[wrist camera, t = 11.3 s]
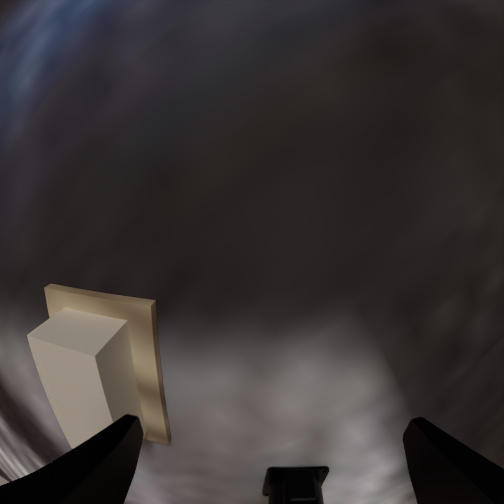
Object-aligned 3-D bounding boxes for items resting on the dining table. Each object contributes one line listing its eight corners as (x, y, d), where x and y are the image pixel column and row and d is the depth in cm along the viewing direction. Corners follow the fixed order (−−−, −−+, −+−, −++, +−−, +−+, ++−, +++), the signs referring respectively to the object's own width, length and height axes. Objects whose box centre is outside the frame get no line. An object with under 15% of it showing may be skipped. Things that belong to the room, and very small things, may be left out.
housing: (147, 430, 22) (130, 468, 17) (92, 415, 22) (71, 447, 17) (127, 320, 19) (94, 356, 14) (64, 307, 19) (26, 335, 14)
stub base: (171, 437, 23) (160, 467, 19) (84, 414, 23) (68, 437, 19) (155, 300, 20) (133, 325, 16) (51, 283, 20) (21, 300, 16)
